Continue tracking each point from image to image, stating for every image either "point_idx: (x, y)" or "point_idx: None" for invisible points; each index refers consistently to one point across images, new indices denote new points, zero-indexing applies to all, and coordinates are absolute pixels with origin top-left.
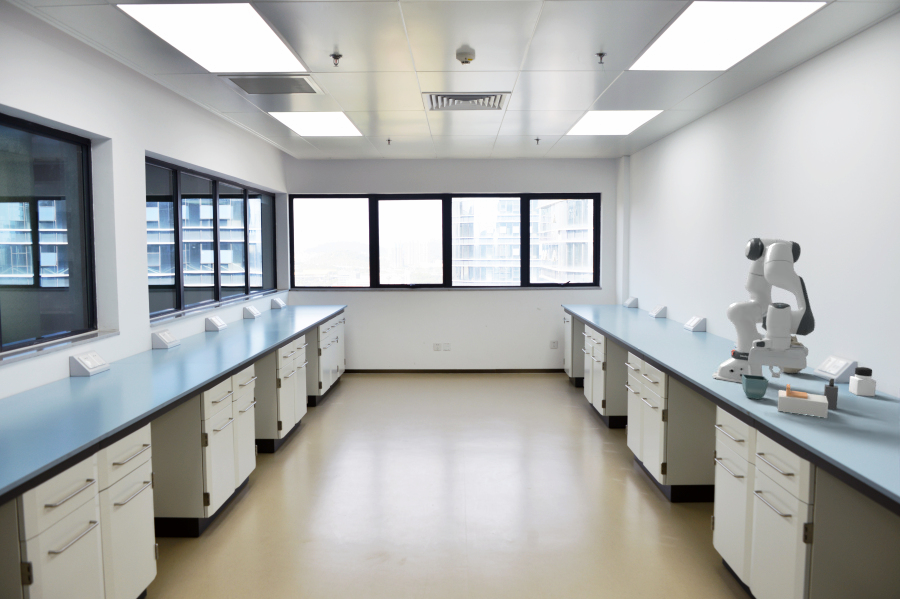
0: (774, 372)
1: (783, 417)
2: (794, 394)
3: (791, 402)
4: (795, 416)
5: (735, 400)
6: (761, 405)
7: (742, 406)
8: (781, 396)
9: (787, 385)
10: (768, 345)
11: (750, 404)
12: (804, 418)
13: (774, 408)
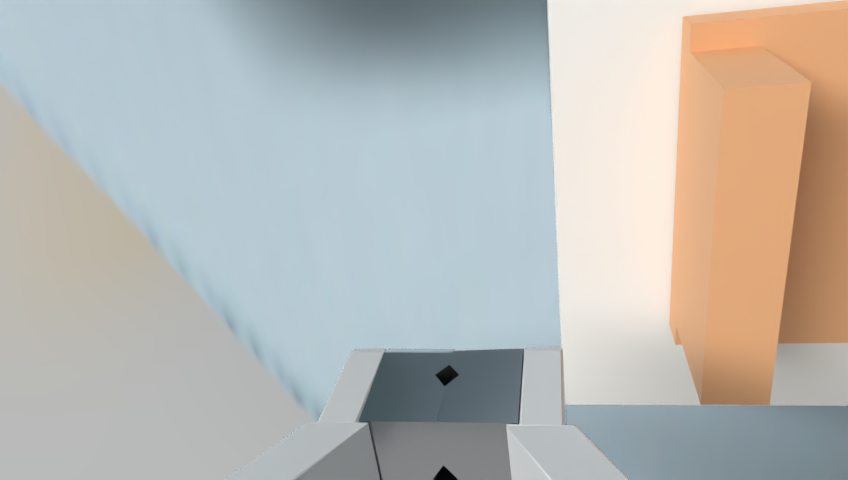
0: (391, 426)
1: (615, 458)
2: (811, 313)
3: None
4: None
5: (70, 78)
6: (365, 124)
7: (222, 295)
8: (598, 380)
9: (727, 243)
10: None
11: (256, 160)
12: None
13: (516, 172)
